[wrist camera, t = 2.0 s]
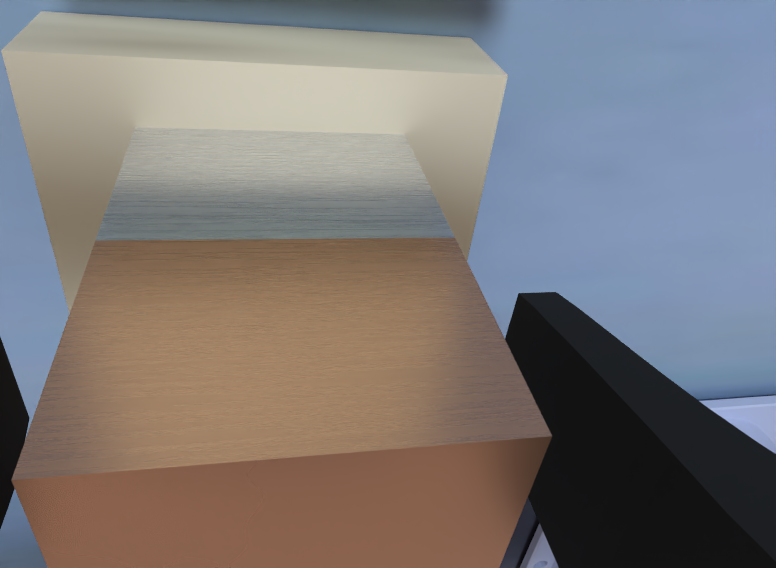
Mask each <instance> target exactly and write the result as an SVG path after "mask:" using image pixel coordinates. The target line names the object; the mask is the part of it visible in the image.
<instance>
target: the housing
mask: <svg viewBox="0 0 776 568" xmlns="http://www.w3.org/2000/svg"><path fill="white" fill-rule="evenodd" d="M551 438H552V435H551V433H550V431H549V429H548V427H547V425H546V422H545V420H544V418H543V416H542V414H541V412H540V410H539V408H538V406H537V404H536V402H535V400H534V398H533V396H532V394H531V392H530V390H529V388H528V386H527V384H526V382H525V380H524V377H523V375H522V373H521V371H520V369H519V367H518V365H517V363H516V361H515V359H514V357H513V355H512V353H511V351H510V349H509V347H508V345H507V343H506V341H505V339H504V337H503V335H502V332H501V330H500V328H499V326H498V324H497V322H496V320H495V318H494V316H493V314H492V312H491V310H490V308H489V306H488V304H487V302H486V300H485V298H484V296H483V294H482V292H481V290H480V287H479V285H478V283H477V281H476V279H475V277H474V275H473V273H472V271H471V269H470V267H469V265H468V263H467V261H466V259H465V257H464V255H463V253H462V251H461V249H460V247H459V245H458V242H457V240H456V238H455V236H454V234H453V232H452V230H451V228H450V226H449V224H448V222H447V220H446V218H445V216H444V214H443V212H442V210H441V208H440V206H439V204H438V202H437V200H436V197H435V195H434V193H433V191H432V189H431V187H430V185H429V183H428V181H427V179H426V177H425V175H424V173H423V171H422V169H421V167H420V165H419V163H418V161H417V159H416V157H415V154H414V152H413V150H412V148H411V146H410V144H409V142H408V140H407V138H406V136H405V134H368V133H331V132H294V131H257V130H220V129H183V128H146V127H135V129H134V132H133V134H132V137H131V140H130V143H129V146H128V149H127V151H126V154H125V157H124V160H123V163H122V166H121V169H120V171H119V174H118V177H117V180H116V183H115V186H114V189H113V191H112V194H111V197H110V200H109V203H108V206H107V209H106V211H105V214H104V217H103V220H102V223H101V226H100V229H99V231H98V234H97V237H96V240H95V243H94V246H93V249H92V251H91V254H90V257H89V260H88V263H87V266H86V269H85V271H84V274H83V277H82V280H81V283H80V286H79V289H78V291H77V294H76V297H75V300H74V303H73V306H72V309H71V311H70V314H69V317H68V320H67V323H66V326H65V329H64V331H63V334H62V337H61V340H60V343H59V346H58V349H57V351H56V354H55V357H54V360H53V363H52V366H51V369H50V371H49V374H48V377H47V380H46V383H45V386H44V389H43V391H42V394H41V397H40V400H39V403H38V406H37V408H36V411H35V414H34V417H33V420H32V423H31V426H30V428H29V431H28V434H27V437H26V440H25V443H24V446H23V448H22V451H21V454H20V457H19V460H18V463H17V466H16V468H15V471H14V474H13V477H12V483H13V485H14V488H15V490H16V492H17V495H18V497H19V500H20V502H21V504H22V507H23V509H24V511H25V514H26V516H27V519H28V521H29V523H30V526H31V528H32V531H33V533H34V535H35V538H36V540H37V542H38V545H39V547H40V550H41V552H42V554H43V557H44V559H45V562H46V564H47V566H48V568H499V567H500V565H501V562H502V560H503V557H504V555H505V552H506V550H507V547H508V545H509V542H510V540H511V537H512V535H513V532H514V530H515V527H516V525H517V522H518V520H519V517H520V515H521V512H522V510H523V507H524V505H525V502H526V500H527V497H528V495H529V493H530V490H531V488H532V485H533V483H534V480H535V478H536V475H537V473H538V470H539V468H540V465H541V463H542V460H543V458H544V455H545V453H546V450H547V448H548V445H549V443H550V440H551Z"/></svg>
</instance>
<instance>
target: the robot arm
mask: <svg viewBox="0 0 776 568" xmlns="http://www.w3.org/2000/svg"><path fill="white" fill-rule="evenodd" d="M505 341H506V343H507V345H508V347H509V349H510V351H511V353H512V355H513V357H514V359H515V361H516V363H517V365H518V367H519V369H520V371H521V373H522V375H523V377H524V380H525V382H526V384H527V386H528V388H529V390H530V392H531V394H532V396H533V398H534V400H535V402H536V404H537V406H538V408H539V410H540V412H541V414H542V416H543V418H544V420H545V422H546V425H547V427H548V429H549V431H550V433H551V435H552V438H551V440H550V443H549V445H548V448H547V450H546V453H545V455H544V458H543V460H542V463H541V465H540V468H539V470H538V473H537V475H536V478H535V480H534V483H533V485H532V488H531V490H530V493H529V495H528V498H529V500H530V502H531V505H532V507H533V509H534V512H535V514H536V516H537V518H538V521H539V525H538V528H537V530H536V532H535V535H534V537H533V539H532V541H531V544H530V546H529V548H528V550H527V553H526V555H525V557H524V559H523V562H522V564H521V566H520V568H776V395H773V396H759V397H745V398H732V399H718V400H704V401H698V400H697V399H696V398H694V397H693V396H691V395H690V394H689V393H687V392H686V391H685V390H683V389H682V388H681V387H679V386H678V385H677V384H675V383H674V382H673V381H671V380H670V379H669V378H667V377H666V376H665V375H663V374H662V373H661V372H659V371H658V370H657V369H656V368H654V367H653V366H652V365H650V364H649V363H648V362H646V361H645V360H644V359H643V358H641V357H640V356H639V355H637V354H636V353H635V352H634V351H632V350H631V349H630V348H629V347H627V346H626V345H625V344H623V343H622V342H621V341H620V340H618V339H617V338H616V337H615V336H613V335H612V334H611V333H609V332H608V331H607V330H606V329H604V328H603V327H602V326H601V325H599V324H598V323H597V322H595V321H594V320H593V319H592V318H590V317H589V316H588V315H586V314H585V313H584V312H583V311H581V310H580V309H579V308H577V307H576V306H575V305H573V304H572V303H570V302H569V301H568V300H566V299H565V298H563V297H562V296H561V295H559V294H558V293H556V292H544V293H519V294H518V297H517V301H516V304H515V307H514V311H513V314H512V318H511V321H510V324H509V328H508V331H507V335H506V338H505ZM28 423H29V416H28V413H27V410H26V407H25V405H24V402H23V399H22V396H21V393H20V391H19V388H18V385H17V382H16V379H15V377H14V374H13V371H12V368H11V366H10V363H9V360H8V357H7V354H6V352H5V349H4V346H3V343H2V340H1V338H0V529H1V526H2V523H3V520H4V517H5V515H6V512H7V509H8V506H9V503H10V500H11V497H12V494H13V491H14V485H13V483H12V477H13V474H14V471H15V468H16V466H17V463H18V460H19V457H20V454H21V451H22V448H23V446H24V443H25V438H26V433H27V428H28Z"/></svg>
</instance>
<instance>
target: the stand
mask: <svg viewBox="0 0 776 568" xmlns="http://www.w3.org/2000/svg"><path fill="white" fill-rule="evenodd" d="M1 51H2V55H3V59H4V63H5V67H6V70H7V74H8V78H9V82H10V86H11V90H12V94H13V97H14V101H15V105H16V109H17V113H18V117H19V121H20V124H21V128H22V132H23V136H24V140H25V144H26V148H27V151H28V155H29V159H30V163H31V167H32V171H33V174H34V178H35V182H36V186H37V190H38V194H39V198H40V201H41V205H42V209H43V213H44V217H45V221H46V225H47V228H48V232H49V236H50V240H51V244H52V248H53V252H54V255H55V259H56V263H57V267H58V271H59V275H60V279H61V282H62V286H63V290H64V294H65V298H66V302H67V305H68V309H69V313H70V311H71V309H72V306H73V303H74V300H75V297H76V294H77V291H78V289H79V286H80V283H81V280H82V277H83V274H84V271H85V269H86V266H87V263H88V260H89V257H90V254H91V251H92V249H93V246H94V243H95V240H96V237H97V234H98V231H99V229H100V226H101V223H102V220H103V217H104V214H105V211H106V209H107V206H108V203H109V200H110V197H111V194H112V191H113V189H114V186H115V183H116V180H117V177H118V174H119V171H120V169H121V166H122V163H123V160H124V157H125V154H126V151H127V149H128V146H129V143H130V140H131V137H132V134H133V132H134V129H135V127H146V128H183V129H220V130H257V131H294V132H331V133H368V134H405V136H406V138H407V140H408V142H409V144H410V146H411V148H412V150H413V152H414V154H415V157H416V159H417V161H418V163H419V165H420V167H421V169H422V171H423V173H424V175H425V177H426V179H427V181H428V183H429V185H430V187H431V189H432V191H433V193H434V195H435V197H436V200H437V202H438V204H439V206H440V208H441V210H442V212H443V214H444V216H445V218H446V220H447V222H448V224H449V226H450V228H451V230H452V232H453V234H454V236H455V238H456V240H457V242H458V245H459V247H460V249H461V251H462V253H463V255H464V257H465V259H466V261H467V259H468V254H469V250H470V245H471V241H472V236H473V232H474V227H475V222H476V218H477V213H478V209H479V204H480V200H481V195H482V191H483V186H484V182H485V177H486V173H487V168H488V164H489V159H490V155H491V150H492V145H493V141H494V136H495V132H496V127H497V123H498V118H499V114H500V109H501V105H502V100H503V96H504V91H505V87H506V82H507V77H508V75H507V74H506V73H505V72H504V71H503V70H502V69H501V68H500V67H499V66H498V65H497V64H496V63H495V62H494V61H493V60H492V59H491V58H490V57H489V56H488V55H487V54H486V53H485V52H484V51H483V50H482V49H481V48H480V47H479V46H478V45H477V44H476V43H475V42H474V41H473V40H472V39H471V38H466V37H450V36H434V35H417V34H401V33H385V32H369V31H353V30H337V29H321V28H304V27H288V26H272V25H256V24H240V23H224V22H207V21H191V20H175V19H159V18H143V17H127V16H110V15H94V14H78V13H62V12H46V11H41V12H40V13H39V14H38V15H37V16H36V17H35V18H34V19H33V20H32V21H31V22H30V23H29V24H28V25H27V26H26V27H25V28H24V29H23V30H22V31H21V32H20V33H19V34H18V35H17V36H16V37H15V38H14V39H13V40H12V41H11V42H10V43H9V44H7V45H6V46H5V47H4V48H3V49H2V50H1Z"/></svg>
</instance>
